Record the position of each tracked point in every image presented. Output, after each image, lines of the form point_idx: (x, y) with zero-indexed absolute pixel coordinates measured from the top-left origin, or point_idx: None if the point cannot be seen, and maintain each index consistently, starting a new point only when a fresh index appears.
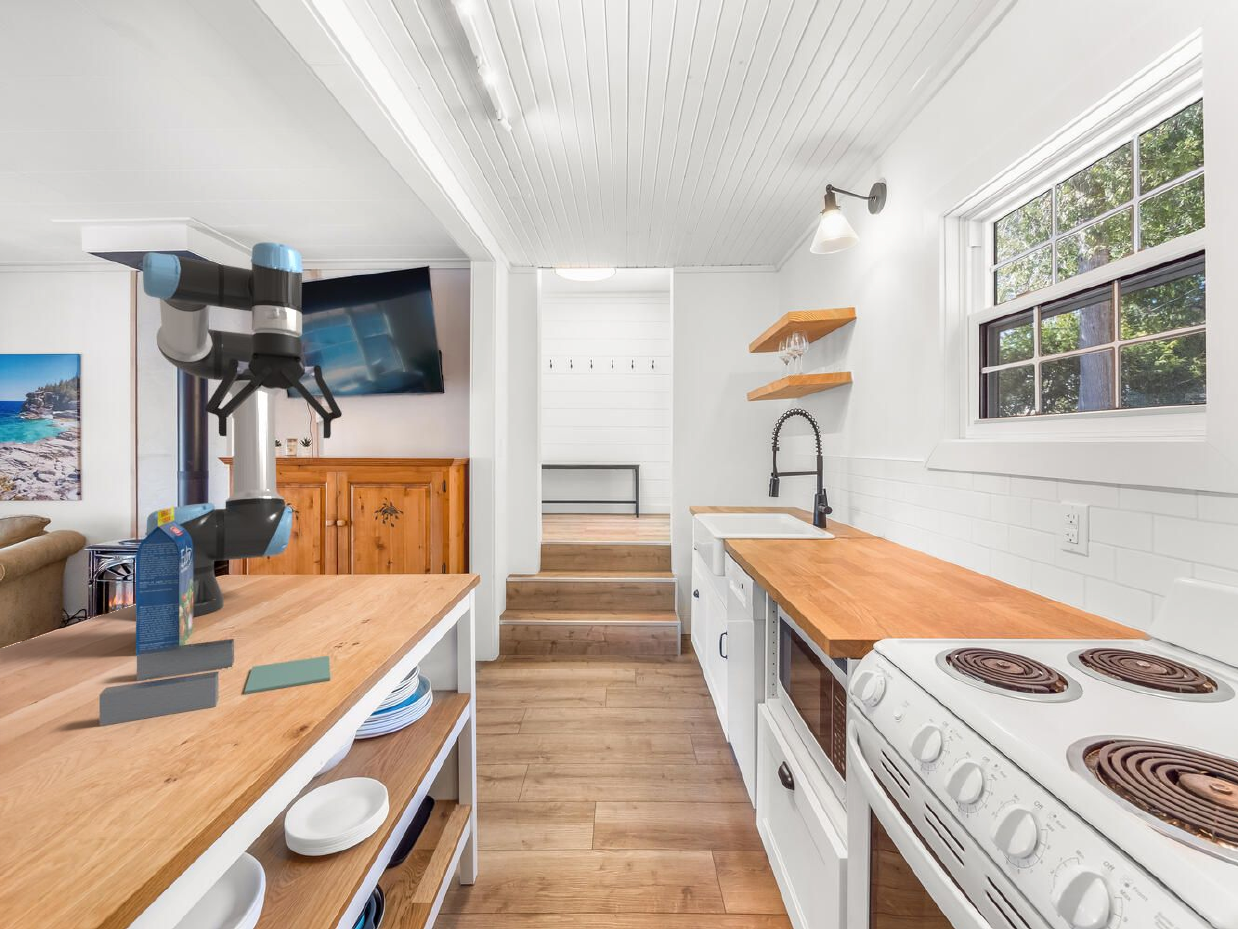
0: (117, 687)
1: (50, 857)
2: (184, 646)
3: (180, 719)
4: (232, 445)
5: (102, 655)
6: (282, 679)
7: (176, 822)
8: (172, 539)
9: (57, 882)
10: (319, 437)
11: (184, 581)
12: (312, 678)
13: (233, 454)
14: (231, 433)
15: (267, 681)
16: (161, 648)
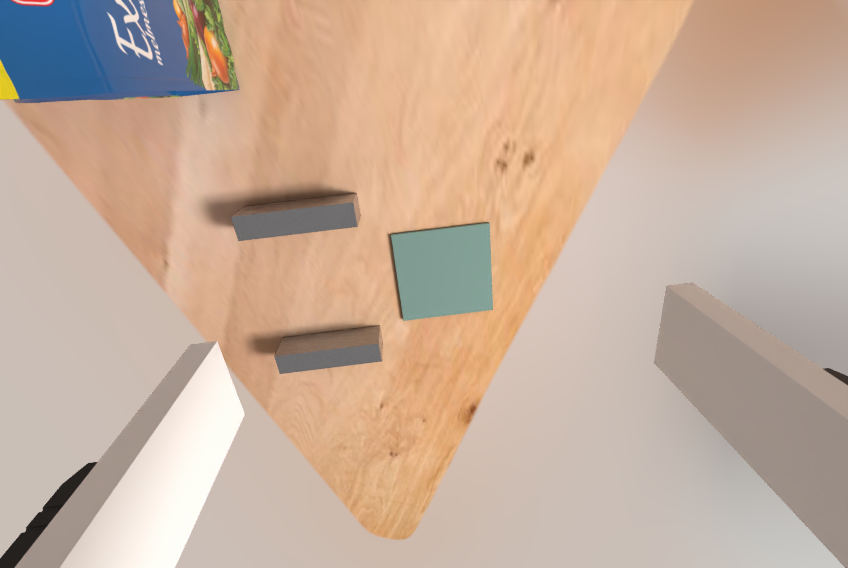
0: (287, 359)
1: (361, 504)
2: (290, 220)
3: None
4: (216, 444)
5: None
6: (438, 297)
7: (414, 494)
8: (93, 90)
9: (376, 520)
10: (737, 448)
11: (163, 21)
12: (473, 306)
13: (221, 367)
14: (188, 532)
15: (422, 298)
16: (258, 218)
